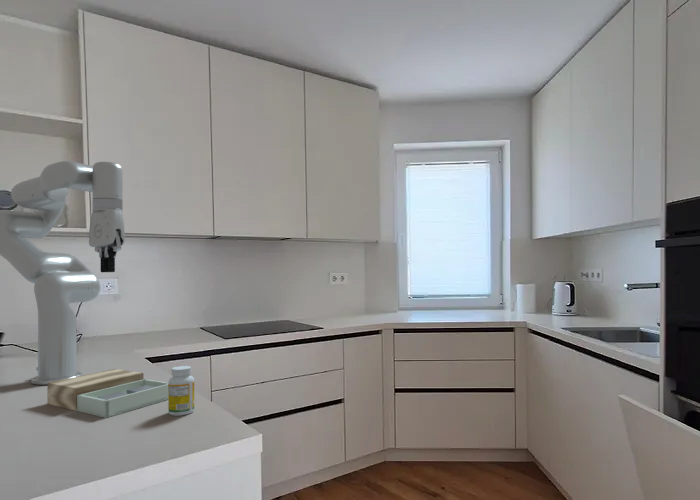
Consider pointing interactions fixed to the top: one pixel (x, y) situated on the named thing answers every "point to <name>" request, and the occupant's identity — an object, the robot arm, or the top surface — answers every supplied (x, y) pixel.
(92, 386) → the board
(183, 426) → the top surface
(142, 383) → the tray
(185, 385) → the supplement bottle
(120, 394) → the tile
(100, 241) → the robot arm
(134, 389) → the tile
